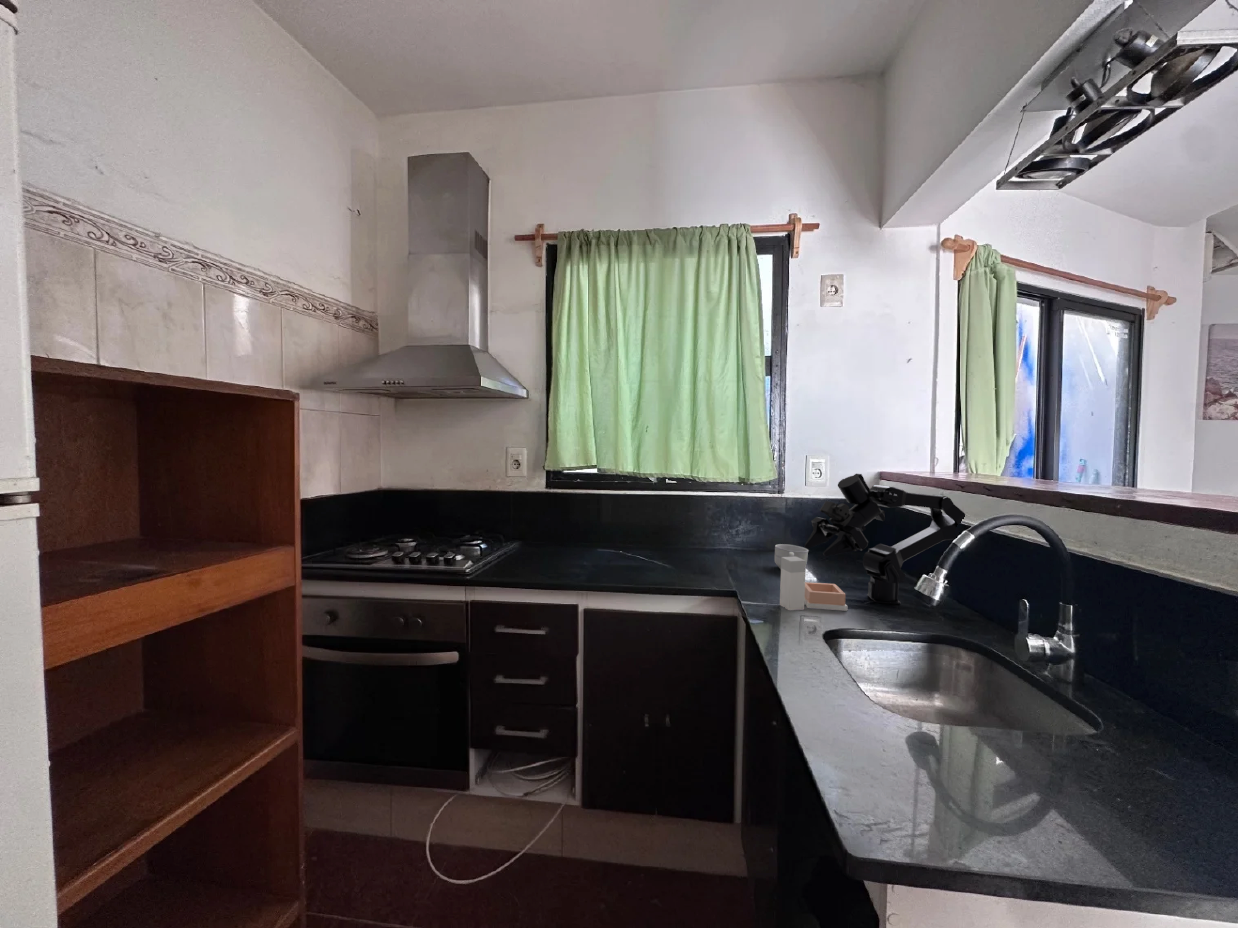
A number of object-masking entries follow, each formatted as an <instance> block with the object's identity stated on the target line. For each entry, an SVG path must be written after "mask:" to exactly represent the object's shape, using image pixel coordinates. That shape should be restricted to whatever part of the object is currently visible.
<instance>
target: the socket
mask: <svg viewBox="0 0 1238 928" xmlns="http://www.w3.org/2000/svg"><path fill="white" fill-rule="evenodd" d="M804 606H805V607H806V608H807V609H818V610H831V611H832V610H833V611H843V612H844V611H845V612H847V611H848V608H849V607H848V605H847V604H846V593H845V592H844V591H843V590H842V589H841V588H840V587H839V586H838V585H837V584H835V583H824V582H808V581H805V598H804Z"/></svg>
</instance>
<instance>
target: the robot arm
mask: <svg viewBox="0 0 1238 928" xmlns="http://www.w3.org/2000/svg"><path fill="white" fill-rule="evenodd" d="M837 487H838V489H839V491H840V492H841V494H842V495H843V497H844V498H845V500H846V503H848V504H853V506H852V507H851V508H850V506H849V505H848V504H846V503H843V502H842V503H839V504H838V503H835V502H833V501H828V500H826V501H824V503H823V504H822V506H821V507H820V509H819V511H820V512H821V513H823V514H825V515H826V516H828V517H829V519H827V518H823V517H818V516H816V517H814V518H813V519H811V525H812V527H813V528H812V530H813V531H812V532H811V534H810V536H809V537H808V539H807V540H806V541H805V544H804V548H806V549H808V550H809V549H811V548H813V547H816V546H817V545H818V546H819V545H821V544H824V543H826V542H829V540H830V539H832V538H833V537H834V536H837V538H836V539H835V540H834V541H833V542H832V543H831V544H830V545H828V547H827V548H826V549H825V550H824V551H823V552H822V554H823V556H824V557H830V556H835V555H839V554H845V553H851V552H858V551H861V552H862V551H864V550H865V549H866V548H867V547H868V545H869V540H868V539H867V538H866V536H865V535H864V533H863V532H864V531H865V530H867V528H866V526H867V525H868V524H869V523H871V522H872V521H873V520H875V519H876V520H878V521H882V522H884V521H885V520H886V517H885V513H886V511H884V510H881V507H884V508H891V509H892V508H902V507H904V506H909V507H910V506H911V507H920V508H929V509H930V518H931V519H932V520H931V523H930V526H929V527H927V528H925V529H923V530H921V531H918V532H917V533H915V534H913V535H911V536H909V537H907V538H906V539H904V540H901V541H899V542H898V543H895V544H894V545H892V546H889V545H886V544H883V543H878V544H876V545H875V546H873V547H871V548H867V551H865V553H864V554H863V558H862V565H863V568H864V569H865V572H866V575H868V576H870V581H868V587H867V588H868V589H867V597H869V598H870V599H871V600H872V601H873V602H874V603H877V604H878V603H880V604H893V605H901V601H900V600H899V587H900V586H899V584H900V583H904V582H905V578H906V574H905V572H903V570H902V569H901V568H902V566H903V564H904V562H905V561H907V560H909V559H911V558H913V557H914V556H917V555H919V554H920V553H922V552H924V551H926V550H928V549H929V548H932V547H934V546H935V545H937V544H940V543H942V542H943V541H952V540H955V539H954V538H955V537H956V536H957V535H958V534H959V532H958V534H956V535H955V536H954V533H955V530H956V527H957V525H959V523H961V521H962V519H964V517H965V515H966V513H965V512H964V511H963V510H962V509H961V508H959V507H958V506H957V505H955V504H954V502H953V500H952V499H951V498H950V497H948V496H946V495H939V494H924V493H916V492H908V491H905V490H903V489H901V488H899V487H894V486H888V485H882V484H881V485H880V484H874V485H872V486H871V487H869V486H868V484H867V482H866V480H865V478H864V476H863V474H862V473H854V474H853V475H850V476H847V477H845V478H841V480H840V481H839V482H838V483H837ZM831 523H832V524H831Z"/></svg>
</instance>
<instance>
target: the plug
mask: <svg viewBox="0 0 1238 928" xmlns="http://www.w3.org/2000/svg"><path fill="white" fill-rule="evenodd" d="M806 566H807V563H806V561H805V560H803V559H801V558H798V557H781V569H780V589H779V605H780V606H781V607H783V608H784V607H785V608H784V609H786V610H788V611H800V610H801V611H802V610H805V604H804V598H805V582H806V572H807V570H806V568H807V567H806Z"/></svg>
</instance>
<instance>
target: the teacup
mask: <svg viewBox="0 0 1238 928" xmlns="http://www.w3.org/2000/svg"><path fill="white" fill-rule="evenodd" d="M808 553H809V548H808V549H806V548H805V547H803V546H799V545H795V544H785V543H784V544H783V543H782V544H781V543H779V544H775V546H774V563H775V564H776V566H777V567H778V568H779V569H780V570H781V557H798V558H801V559H803V560H805V561H806V564H807V563H808V556H809V555H808Z"/></svg>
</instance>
